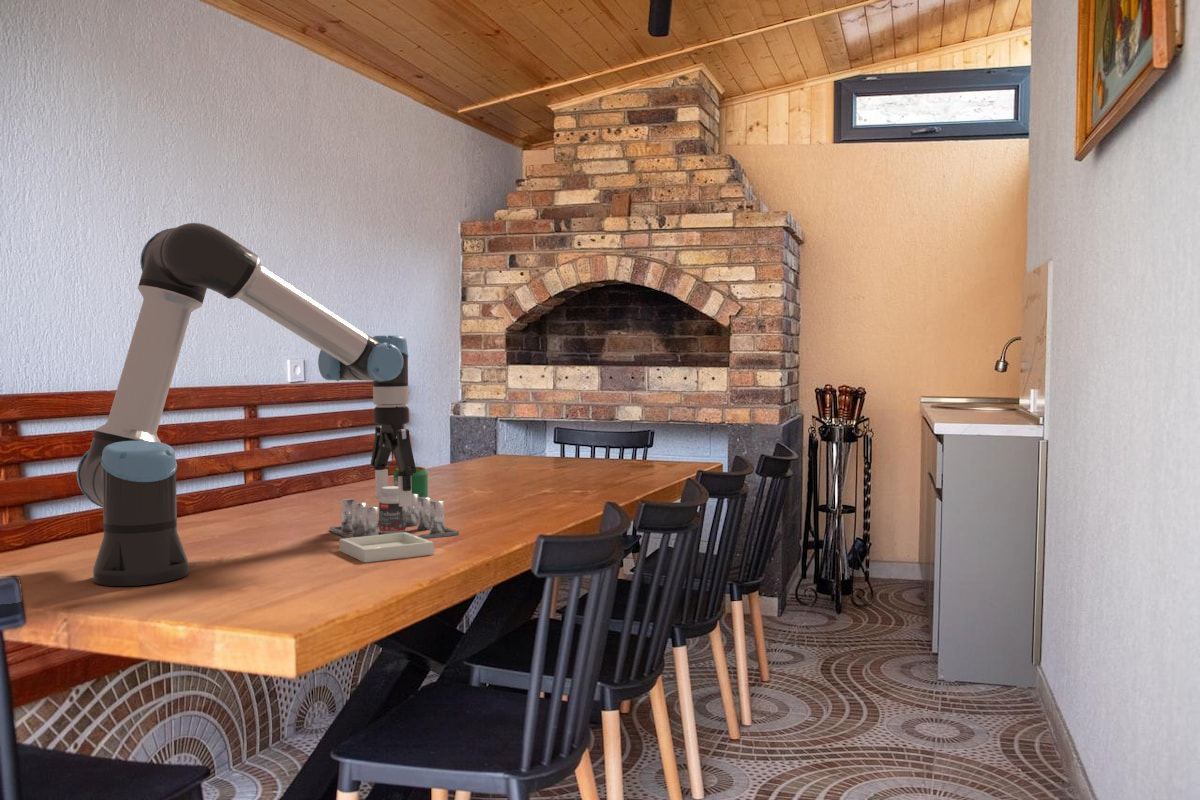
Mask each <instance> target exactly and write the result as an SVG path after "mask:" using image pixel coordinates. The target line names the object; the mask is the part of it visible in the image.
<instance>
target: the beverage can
mask: <svg viewBox="0 0 1200 800" xmlns="http://www.w3.org/2000/svg"><path fill="white" fill-rule="evenodd" d="M415 467H416V473H413V475H411V481H412V494H418V497H429V491H428V490H429V489H428V488H429V487H428V483H429V482H428V475H429V474H428V472H427V470H426V467H421V466H415ZM398 472H399V469H398V467H397V468H395V471H394V473H393V486H398V476H397V474H398Z"/></svg>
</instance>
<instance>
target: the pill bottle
mask: <svg viewBox="0 0 1200 800" xmlns="http://www.w3.org/2000/svg"><path fill="white" fill-rule="evenodd" d="M381 493H382V494H383V497H381V498H380V499H378V523H379V526H378V532H379V533H381V534H392V533H402V532H406V528H407V527H406V526H407V525H406V510H405V509H406V507H405V506H402V507H400V506H399V492H398V486H394V485H392V486H391V485H388V487H382V492H381Z"/></svg>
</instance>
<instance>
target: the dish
mask: <svg viewBox="0 0 1200 800" xmlns="http://www.w3.org/2000/svg"><path fill="white" fill-rule="evenodd" d="M434 542H435V541H431V540H428V539H427V538H425V539H423V538H421V537H418V535H415V534H412V533H411V532H410V533H409V532H406V531H405V532H402V533H392V534H384V533H381V534H378V535H372V536H360V537H356V536H355V537H353V538H345V537H343V538H339V552H342V553H344V554H346V555H348V556H349V557H351V558H354V559H357V560H359V561H361V562H362V563H372V562H382V561H388V560H399V559H407V558H414V557H415V558H417V557H423V556H424V557H425V556H433V555H434V554H435V543H434Z"/></svg>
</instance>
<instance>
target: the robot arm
mask: <svg viewBox="0 0 1200 800" xmlns="http://www.w3.org/2000/svg"><path fill="white" fill-rule="evenodd" d="M140 269H141V275H140V278H139V279H140V280H139V282H138V286H137V290H138V292H139V293H140V295H141V296H142V299H143V300H142V303H141V307H140V310H139V313H138V317H137V321H136V324H135V327H134V330H133V332H132V334H133V335H132V336H131V341H130V345H129V348H128V350H127V351H128V352H127V355H126V357H125V361H124V365H123V368H122V371H121V374H120V378H119V380H118V384H117V389H116V392H115V396H114V399H113V401H112V404H111V405H112V406H111V408H110V412H109V415H108V418H107V421H106V423H105V424H102V425H101V426H99V427H97V428H95V430H94V434H93V437H92V441H91V444H90V447H89V449H88V450H87V451H86V452H85V453H84V454H83V455H82V457H81V458H80V460H79V462H78V464H77V468H76V480H77V484H78V487H79V489H80V491H81V492H82V494H83V495H84V496H85V497H86V498H87V499H88V500H89V502H91V503H92V504H94V505H97V507H100V508H102V512H103V513H102V515H103V516H102V517H103V536H102V537H103V538H102V540H101V544H100V545H99V550H98V552H97V555H96V559H95V562H94V565H93V570H92V571H93V572H92V574H93V576H92V579H93V583H94V584H97V585H101V586H107V587H134V586H147V585H155V584H161V583H168V582H173V581H176V580H179V579H182V578H184V577H186V576H188V575H189V559H188V556H187V554H186V551H185V549H184V547H183V543H182V541H181V538H180V536H179V533H178V523H177V522H178V520H177V519H178V517H177V515H178V513H177V512H178V511H177V510H178V508H177V507H178V505H177V503H178V502H177V469H178V464H177V463H178V462H177V460H176V452H175V449H174V448H173V447H172V446H171V445H169V444H167V443H164V442H161V439H160V438H159V437H158V433H157V432H158V429H159V426H160V423H161V419H162V415H163V412H164V408H165V404H166V400H167V397H168V394H169V391H170V387H171V383H172V380H173V377H174V374H175V369H176V366H177V363H178V359H179V357H180V352H181V351H182V345H183V343H184V339H185V335H186V331H187V327H188V325H189V322H190V317H191V314H192V313H193V312H194V311H195V310H197V309H199V308H201V307H203V303H204V300H205V296H206V293H207V289H209V290H212V291H213V292H216V293H218V294H220V295H222V296H224V297H225V298H227V299H228V300H234V299H239V300H240V301H242V302H244V303H245V304H247V305H249V306H250V307H252V308H253V309H255V310H256V311H258V312H260V313H262V314H263V315H264V316H266V317H268V318H270V319H271V320H272V321H274V322H276V323H278V324H279V325H281V326H282V327H284V328H285V329H287V330H288V331H291V332H292V333H294V334H295V335H297V336H298V337H300V338H302V339H303V340H305V341H306V342H308V343H309V344H312V345H313V346H315V347H316V348H318V349H319V350H320V351H319V354H318V359H317V360H318V361H317V363H318V364H317V365H318V371H319V374H320V375H321V377H322V378H323V379H324V380H326V381H336V382H339V381H369V382H372V384H373V385H372V393H373V394H372V397H373V398H372V399H373V401H372V402H373V405H375V406H376V407H374V408H373V422H374V424H375V425H378V426H375V428H374V430H375V431H374V433H375V434H374V435H375V436H374V440H373V446H372V447H373V448H372V453H371V460H370V465H371V467H373V470H374V475H375V476H374V477H375V479H374V480H375V500H380V498H381V497H383V494H382V493H381V492H382V487H388V486H389V472H388V471H389V468H390V467H389V465H388V462H389V458H390V455H391V453H393V456H394V461H395V463H396V466H397V468H398V469H399V472H398V474H397V476H398V492H399V506H400V507H402V506H412V481H411V475H413V473H416V467H417V466H416V463H415V459H414V453H413V449H412V444H411V439H410V430H409V428H403V425H405V424H408V423H409V422H410V409H409V406H406V405H407V404H409V395H410V393H411V390H409V362H408V361H409V352H408V351H409V350H408V342H407V338H406V337H405V336H403V335H399V334H398V335H397V334H396V335H374V336H371V335H369V334H368V333H365V332H364V331H363V330H361V329H360V328H358V327H356V326H355V325H354V324H352V323H351V322H349V321H348V320H346V319H344V318H343V317H342V316H340V315H338V314H336V313H335V312H334V311H333V310H331V309H329V308H327V307H326V306H325V305H323V303H320V302H319V301H317V300H316V299H314V298H312V297H311V296H309V295H308V294H307V293H305V292H303V290H301V289H299V288H298V287H296V286H294V285H293V284H291V283H290V282H289V281H287V280H285V279H284V278H282V276H279V275H277V274H276V273H275V272H273V271H272V270H271V269H269V268H267V267H265V266H264V265H262V264H261V260H260V257H259V256H258V255H257V254H255V252H253V251H251V250H250V249H248V248H247V247H245V246H244V245H242V244H241V243H240V242H238V241H236V240H235V239H234V238H232V237H230V236H229V235H227V234H225V233H224V232H222V231H221V230H219V229H217V228H215V227H213V226H210V225H208V224H205V223H200V222H190V223H189V222H188V223H184V224H181V225H179V226H176V227H171V228H166V229H164V230H161V231H158V232H157V233H155V234H154V235H153V236H152V237H150V238H149V239H148V241H147V242H146V243H145V244H144V246H143V248H142V250H141V253H140Z"/></svg>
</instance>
